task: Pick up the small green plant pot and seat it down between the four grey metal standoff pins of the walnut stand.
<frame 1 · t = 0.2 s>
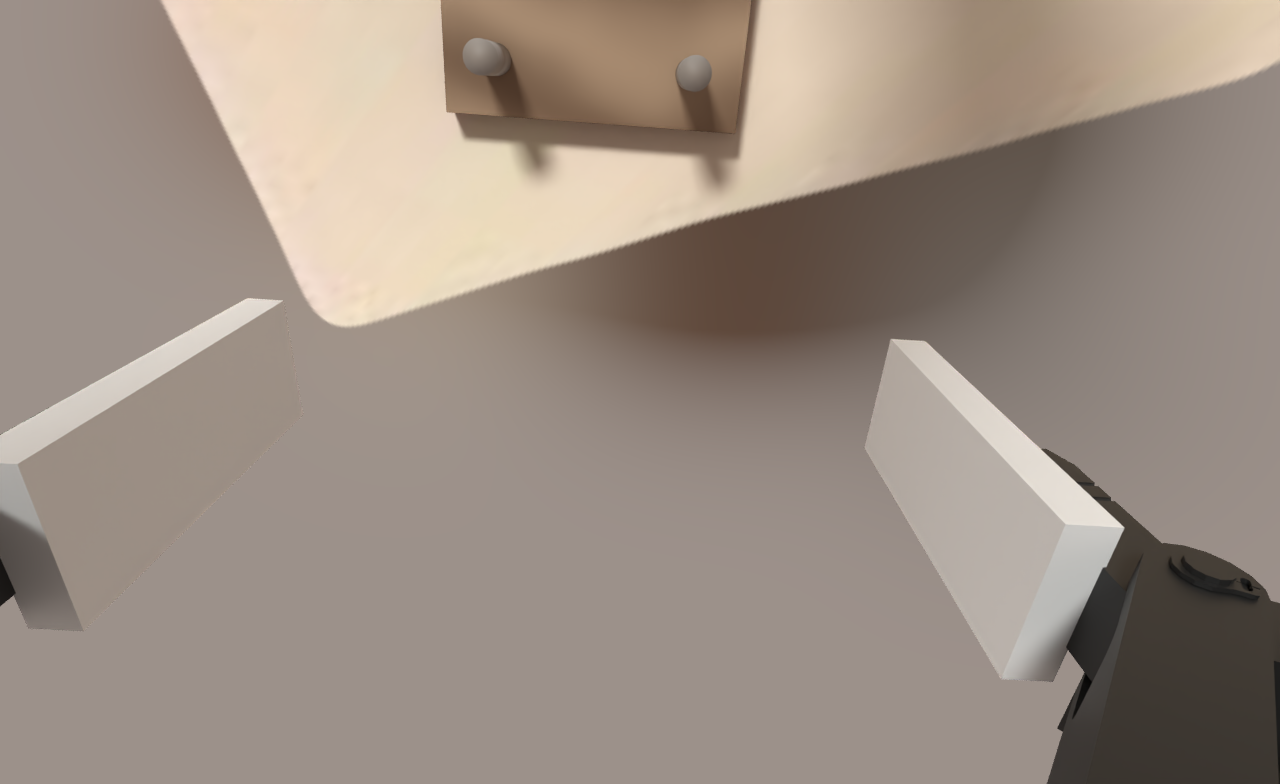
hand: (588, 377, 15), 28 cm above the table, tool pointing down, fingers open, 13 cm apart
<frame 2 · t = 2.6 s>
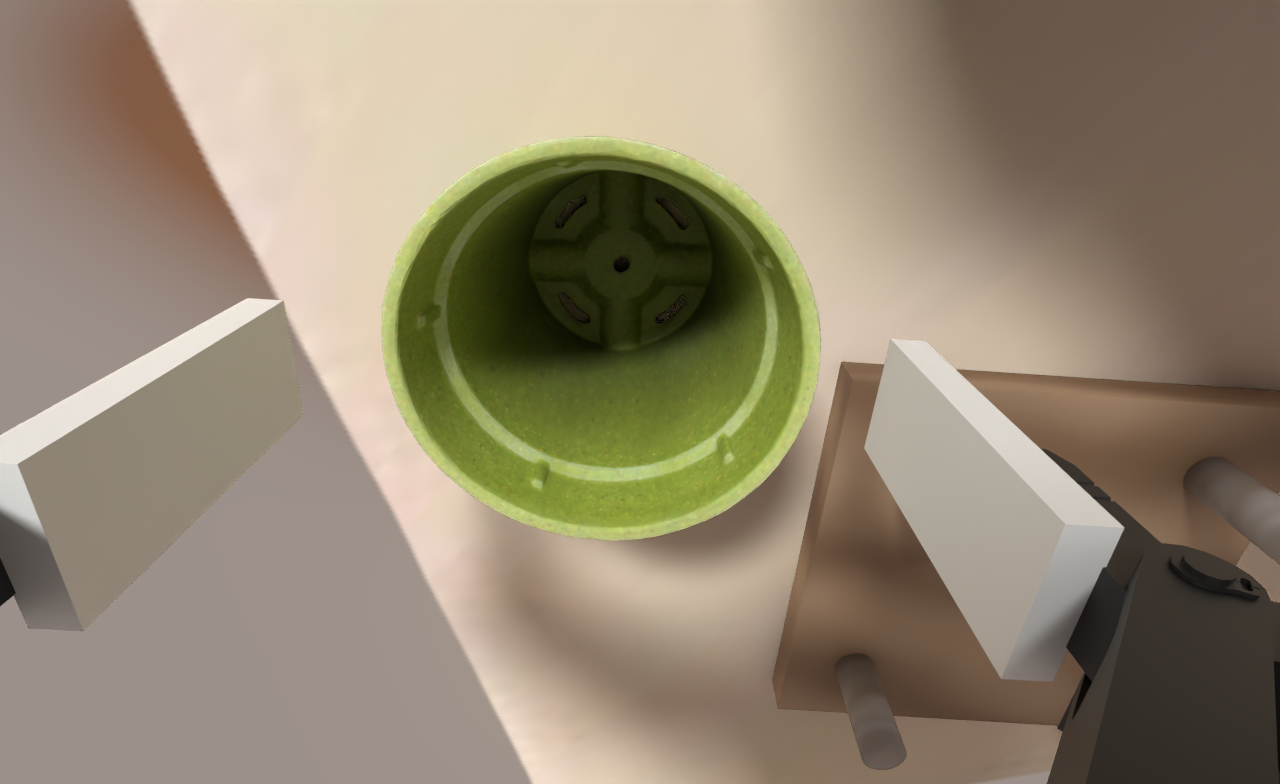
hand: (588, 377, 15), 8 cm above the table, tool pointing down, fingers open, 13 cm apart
stand: (997, 554, 27), on the table
plant pot 2: (620, 261, 22), on the table
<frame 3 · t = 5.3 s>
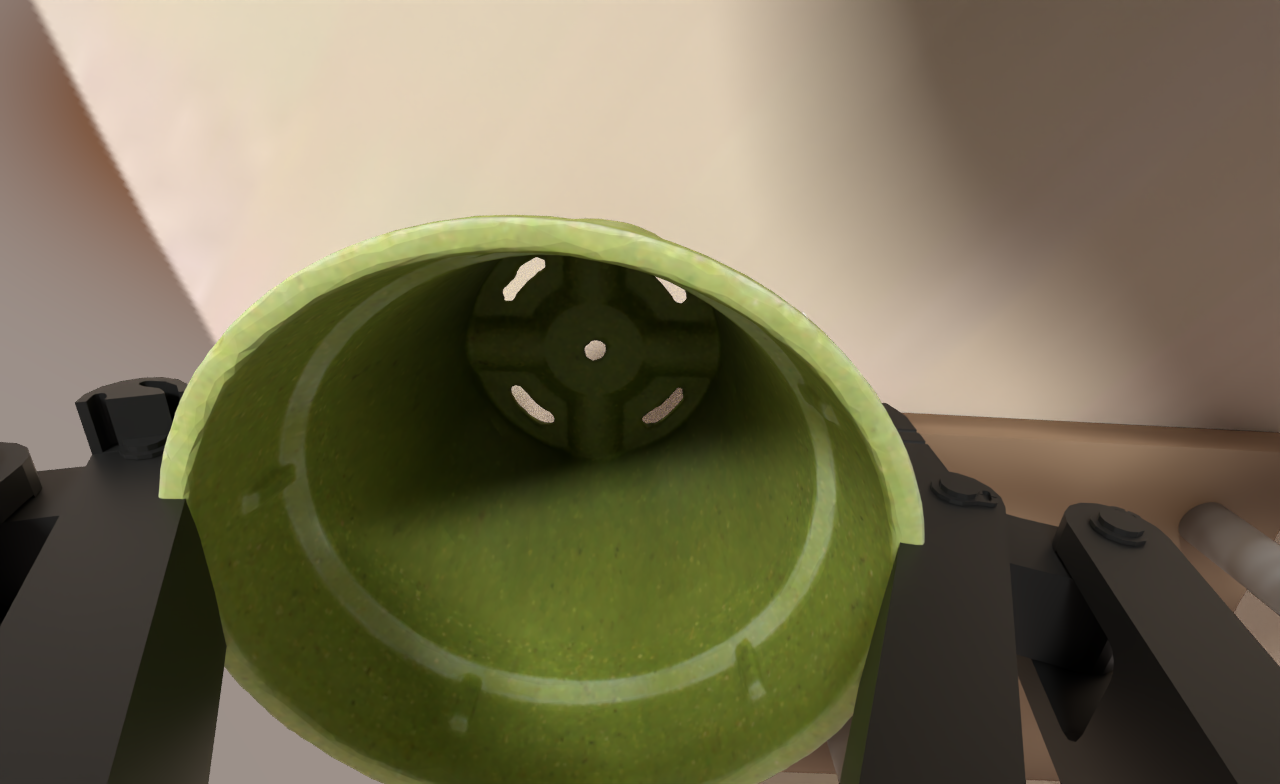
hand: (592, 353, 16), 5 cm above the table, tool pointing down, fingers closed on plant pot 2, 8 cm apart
stand: (988, 603, 26), on the table
plant pot 2: (594, 342, 16), point 5 cm above the table, touching gripper
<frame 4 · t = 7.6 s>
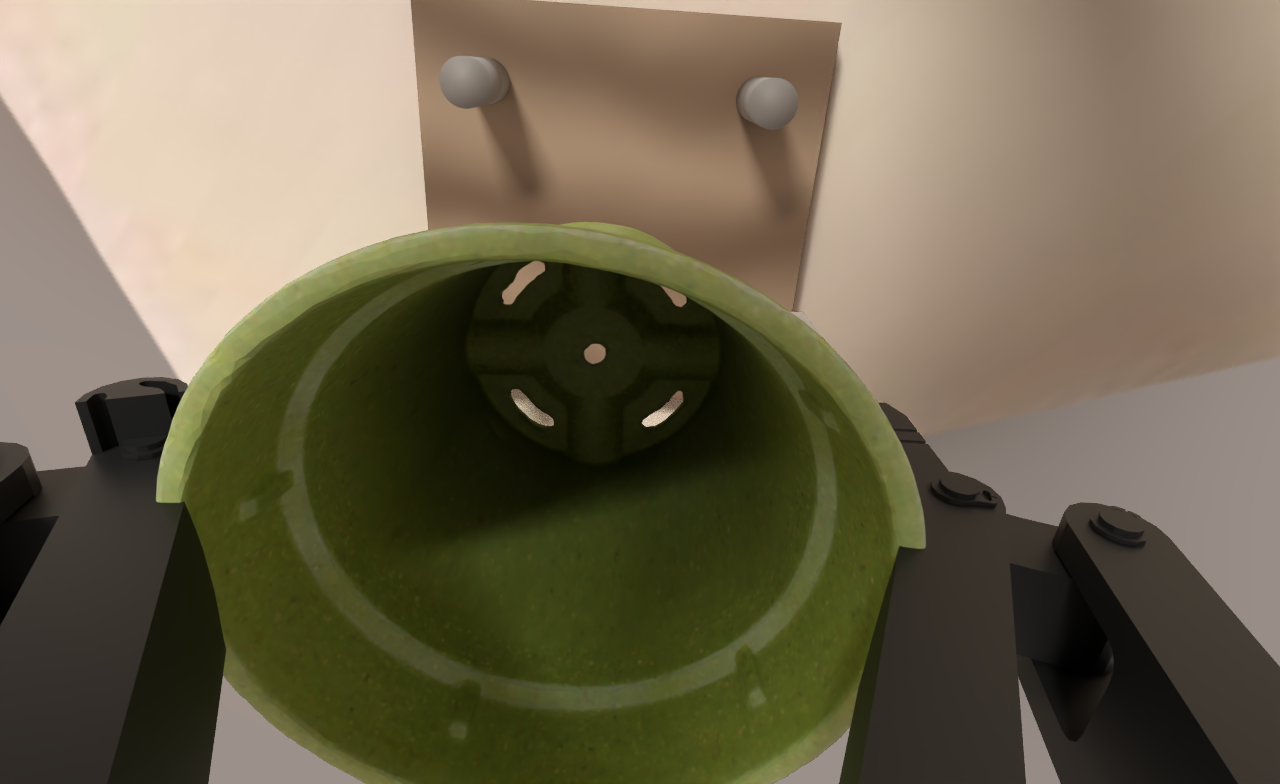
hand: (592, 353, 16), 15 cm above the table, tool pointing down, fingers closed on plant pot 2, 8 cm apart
stand: (618, 218, 29), on the table
plant pot 2: (593, 345, 16), point 15 cm above the table, touching gripper
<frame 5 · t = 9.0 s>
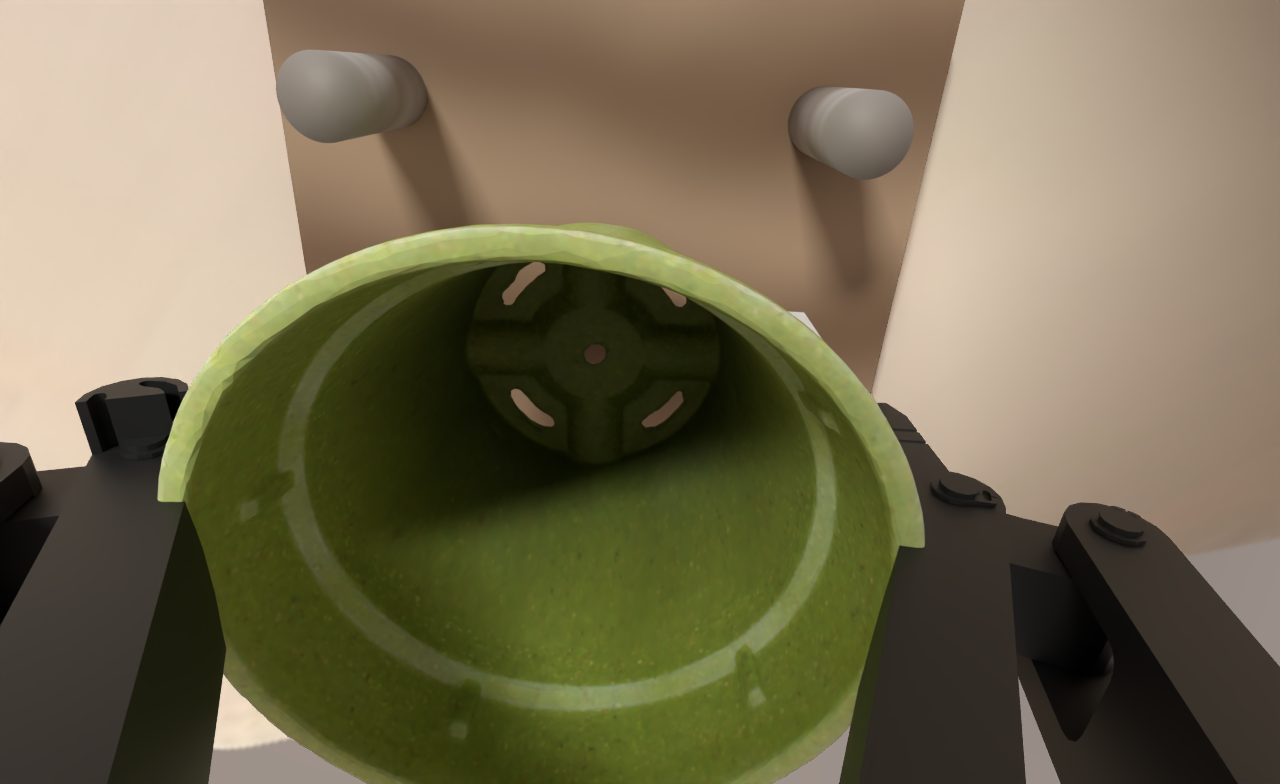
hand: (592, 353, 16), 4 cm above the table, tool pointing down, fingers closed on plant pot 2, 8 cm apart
stand: (603, 294, 20), on the table
plant pot 2: (593, 345, 16), point 4 cm above the table, touching gripper
when the fingers open (3 cm above the table, at t = 10.1 s): plant pot 2 stays where it is, resting on stand.
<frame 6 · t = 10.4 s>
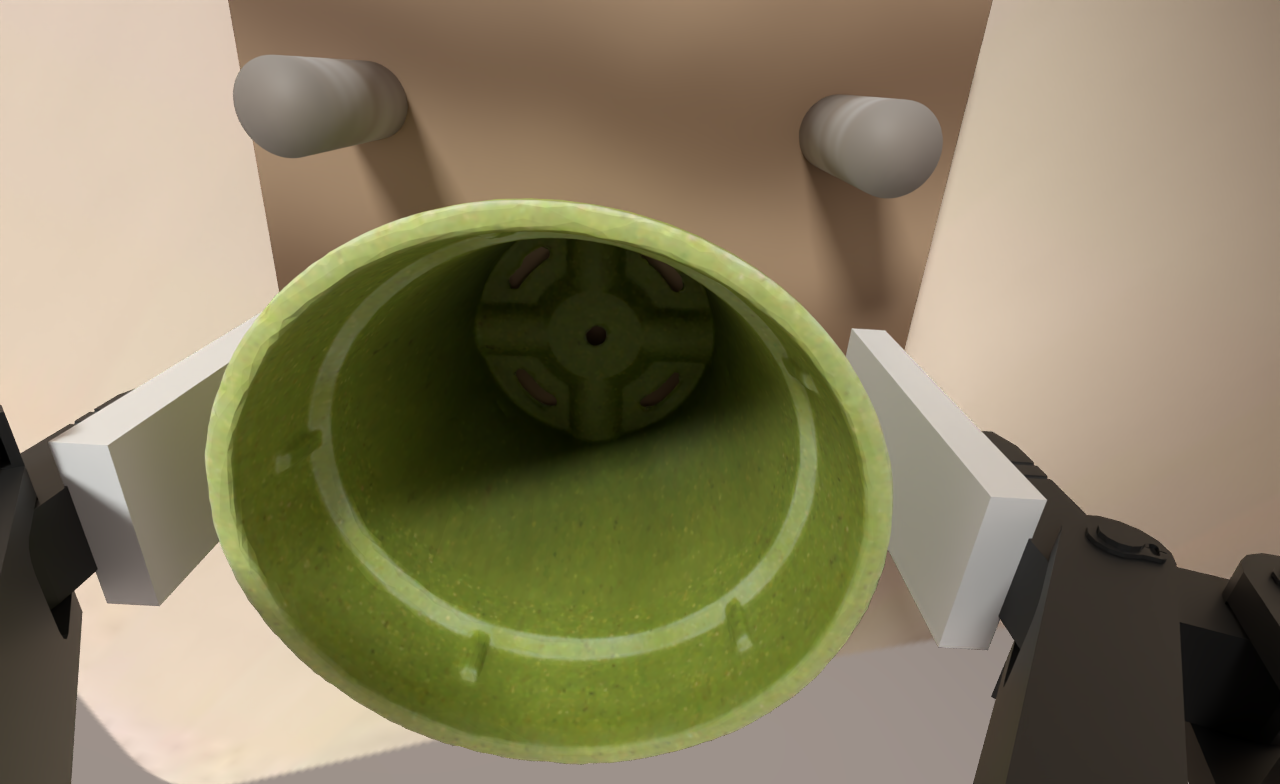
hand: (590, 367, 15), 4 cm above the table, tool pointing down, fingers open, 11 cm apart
stand: (599, 315, 18), on the table
plant pot 2: (595, 328, 17), point 1 cm above the table, touching stand
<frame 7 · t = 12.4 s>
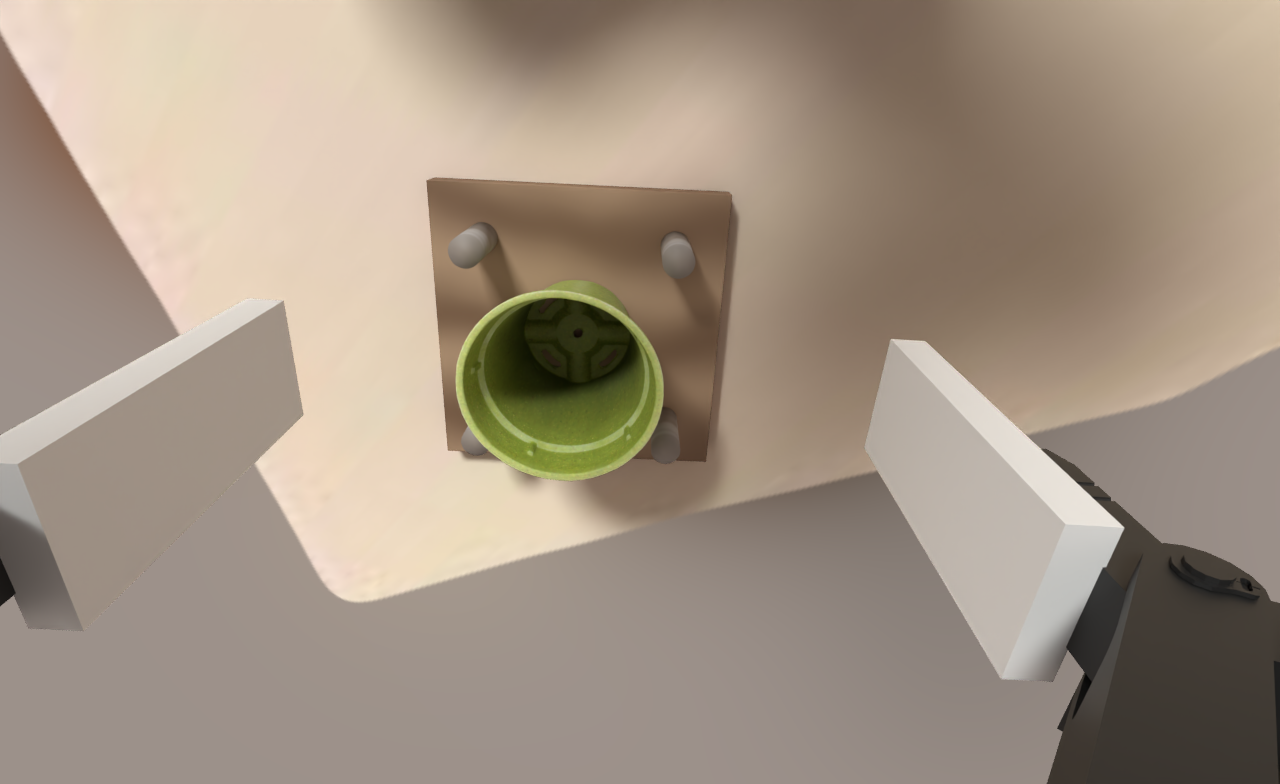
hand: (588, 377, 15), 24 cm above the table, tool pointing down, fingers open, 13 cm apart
stand: (580, 325, 39), on the table
plant pot 2: (577, 330, 38), point 1 cm above the table, touching stand
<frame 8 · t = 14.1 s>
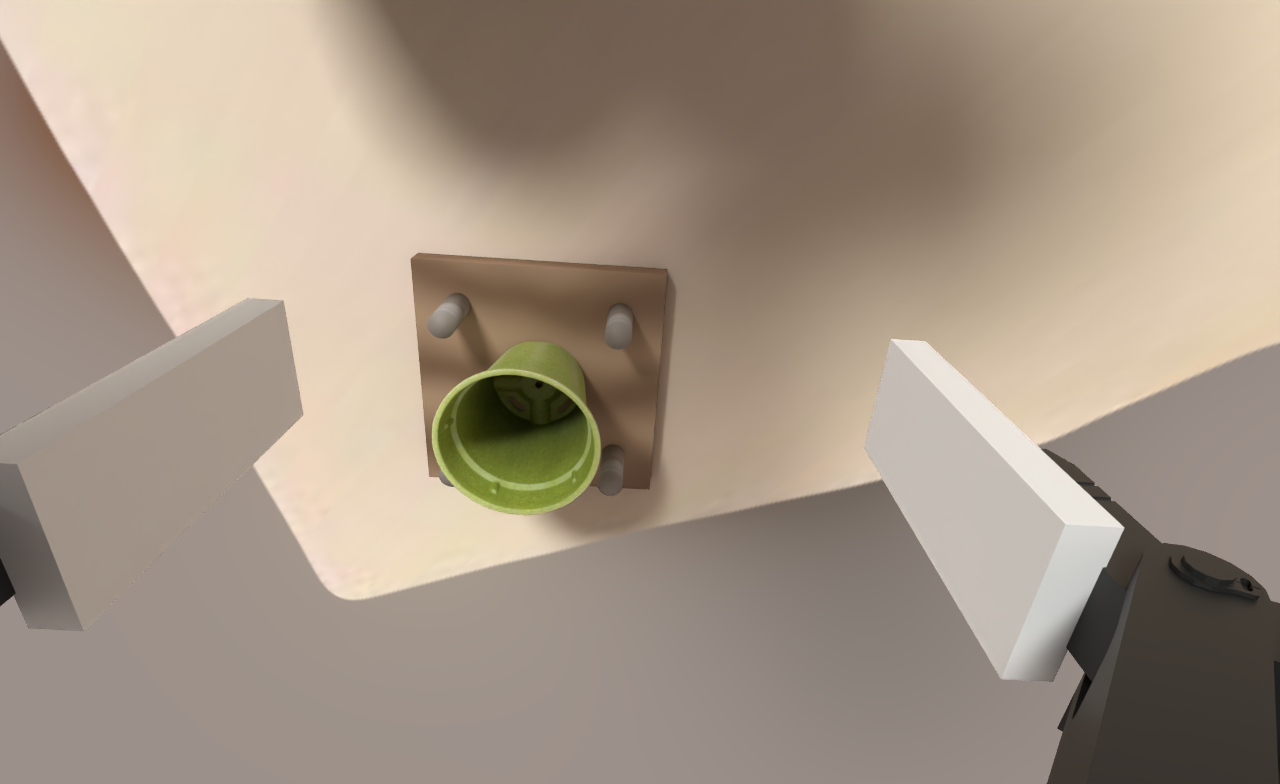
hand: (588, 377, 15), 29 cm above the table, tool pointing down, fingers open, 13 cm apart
stand: (542, 374, 46), on the table
plant pot 2: (539, 381, 45), point 1 cm above the table, touching stand
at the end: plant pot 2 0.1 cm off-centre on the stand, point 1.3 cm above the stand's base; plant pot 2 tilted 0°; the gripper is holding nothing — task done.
